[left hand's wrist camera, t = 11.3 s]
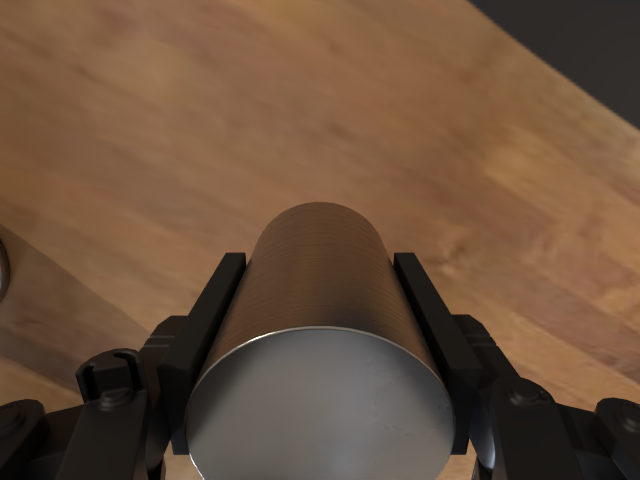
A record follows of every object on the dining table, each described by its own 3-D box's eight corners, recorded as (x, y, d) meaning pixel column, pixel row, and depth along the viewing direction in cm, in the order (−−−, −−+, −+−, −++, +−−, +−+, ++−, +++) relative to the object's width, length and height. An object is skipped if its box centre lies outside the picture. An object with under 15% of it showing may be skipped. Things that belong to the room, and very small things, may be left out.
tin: (253, 197, 15) (172, 318, 7) (394, 206, 15) (484, 335, 7) (253, 318, 17) (191, 523, 9) (377, 325, 17) (430, 533, 9)
